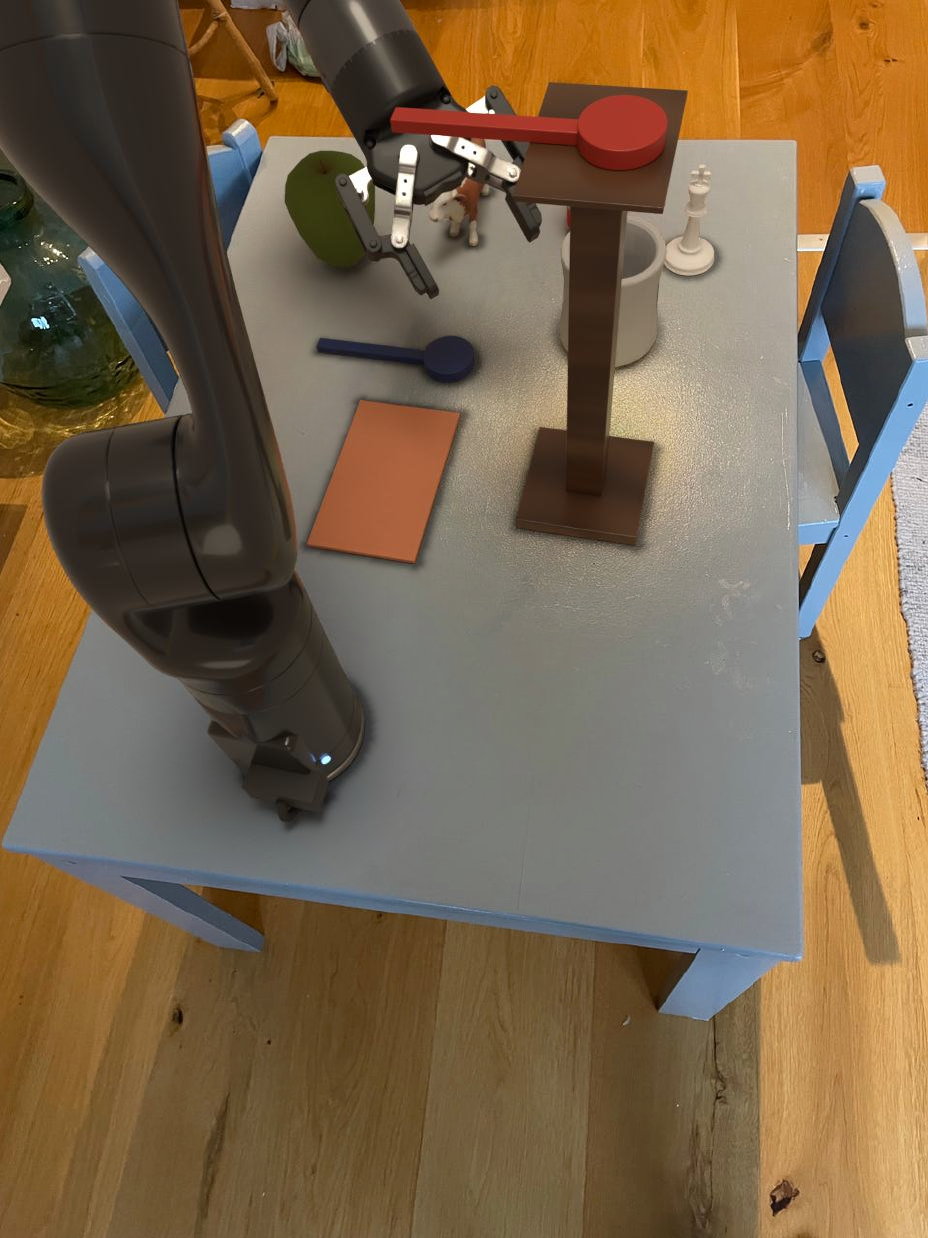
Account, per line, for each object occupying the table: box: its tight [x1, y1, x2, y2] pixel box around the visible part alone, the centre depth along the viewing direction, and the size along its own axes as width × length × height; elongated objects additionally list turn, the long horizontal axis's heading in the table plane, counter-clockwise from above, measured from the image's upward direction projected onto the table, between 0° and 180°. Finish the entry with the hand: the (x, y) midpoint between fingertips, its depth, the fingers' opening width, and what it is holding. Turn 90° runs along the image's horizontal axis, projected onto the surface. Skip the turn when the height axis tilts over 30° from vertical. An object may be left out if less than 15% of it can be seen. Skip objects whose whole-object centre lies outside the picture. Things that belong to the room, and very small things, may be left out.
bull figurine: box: [428, 138, 490, 247], centre depth 93 cm, size 4×13×8 cm, turn 166°
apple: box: [284, 150, 376, 269], centre depth 90 cm, size 9×8×12 cm
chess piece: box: [664, 164, 715, 277], centre depth 87 cm, size 5×5×10 cm
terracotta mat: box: [306, 399, 461, 564], centre depth 81 cm, size 16×10×1 cm, turn 166°
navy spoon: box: [316, 335, 476, 384], centre depth 88 cm, size 5×15×1 cm, turn 76°
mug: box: [558, 214, 667, 368], centre depth 84 cm, size 12×9×10 cm
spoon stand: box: [513, 81, 689, 546], centre depth 65 cm, size 10×10×32 cm
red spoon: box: [390, 95, 668, 170], centre depth 51 cm, size 5×15×1 cm, turn 76°
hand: (485, 265), depth 69 cm, fingers open, 8 cm apart
